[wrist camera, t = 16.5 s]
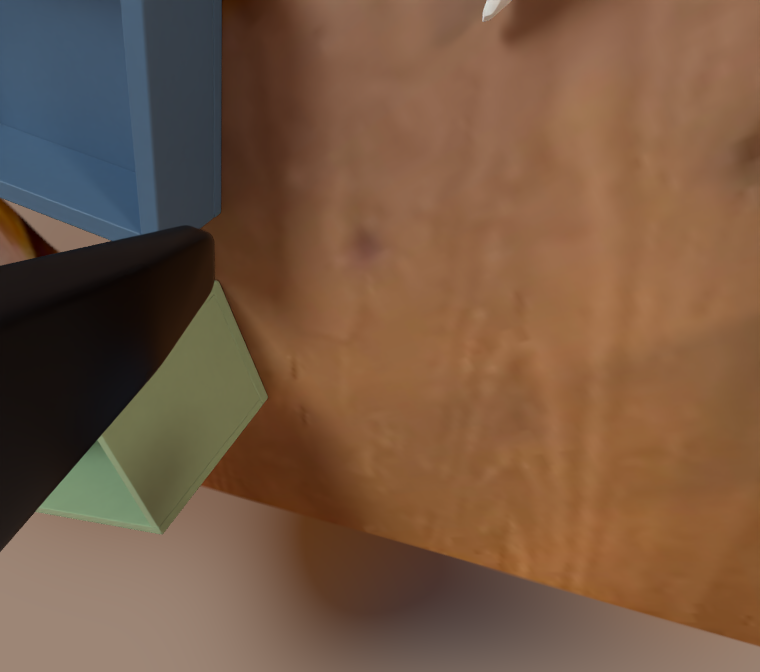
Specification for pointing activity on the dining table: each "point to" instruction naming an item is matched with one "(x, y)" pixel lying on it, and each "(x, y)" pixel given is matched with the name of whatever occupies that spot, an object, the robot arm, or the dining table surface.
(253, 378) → the caddy
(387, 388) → the dining table surface
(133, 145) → the box
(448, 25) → the dining table surface
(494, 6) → the unicorn horn
